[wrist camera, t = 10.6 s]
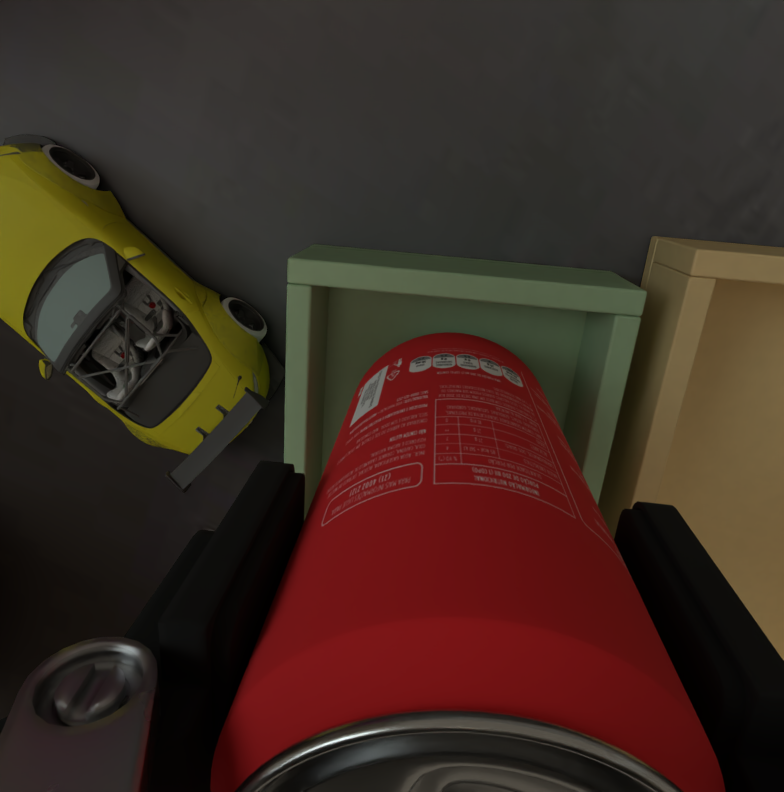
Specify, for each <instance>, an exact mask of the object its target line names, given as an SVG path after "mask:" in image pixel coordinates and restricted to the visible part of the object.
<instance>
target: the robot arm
mask: <svg viewBox="0 0 784 792" xmlns="http://www.w3.org/2000/svg"><path fill="white" fill-rule="evenodd" d="M304 505H305V475H304V473H295V468H294V465H293V464H289V463H280V462H271V461H260V462H259V464H258V465H257V467H256V468H255V470H254V471H253V473H252V475H251V476H250V478H249V479H248V481H247V482H246V484H245V486H244V487H243V489H242V490H241V492H240V493H239V495H238V497H237V498H236V500H235V501H234V503H233V505H232V506H231V508H230V509H229V511H228V512H227V514H226V516H225V517H224V519H223V520H222V522H221V523H220V525H219V527H218V528H217V530H216V531H208V530H200V531H198V532H197V533H196V534H195V535H194V536H193V537H192V539H191V540H190V542H189V543H188V545H187V546H186V548H185V549H184V551H183V552H182V553H181V555H180V556H179V558H178V559H177V561H176V562H175V564H174V565H173V567H172V568H171V569H170V571H169V572H168V574H167V575H166V577H165V578H164V580H163V581H162V583H161V584H160V585H159V587H158V588H157V590H156V591H155V593H154V594H153V596H152V597H151V599H150V600H149V601H148V603H147V604H146V606H145V607H144V609H143V610H142V612H141V613H140V615H139V616H138V617H137V619H136V620H135V622H134V623H133V625H132V626H131V628H130V629H129V631H128V632H127V633H126V635H125V636H124V637H100V638H95V639H90V640H85V641H81V642H79V643H76V644H74V645H71V646H69V647H66V648H64V649H62V650H60V651H58V652H57V653H55V654H54V655H52V656H50V657H49V658H47V659H46V660H44V661H43V662H42V663H41V664H40V665H39V666H38V667H37V668H36V669H35V670H33V671H32V672H31V673H30V674H29V675H28V677H27V679H26V680H25V682H24V683H23V685H22V687H21V688H20V690H19V692H18V694H17V696H16V699H15V701H14V704H13V706H12V708H11V711H10V713H9V715H8V717H6V718H3V719H1V720H0V792H211V791H210V781H211V768H212V763H213V757H214V752H215V749H216V746H217V742H218V739H219V736H220V733H221V731H222V728H223V726H224V723H225V721H226V718H227V716H228V713H229V710H230V708H231V705H232V703H233V700H234V698H235V695H236V693H237V690H238V688H239V685H240V683H241V680H242V678H243V675H244V672H245V670H246V667H247V665H248V662H249V660H250V657H251V655H252V652H253V650H254V647H255V645H256V642H257V639H258V637H259V634H260V632H261V629H262V627H263V624H264V622H265V619H266V617H267V614H268V612H269V609H270V607H271V604H272V601H273V599H274V596H275V594H276V591H277V589H278V586H279V584H280V581H281V579H282V576H283V574H284V571H285V569H286V566H287V563H288V561H289V558H290V556H291V553H292V551H293V548H294V546H295V543H296V541H297V538H298V536H299V533H300V530H301V528H302V525H303V523H304ZM614 541H615V544H616V546H617V548H618V550H619V552H620V554H621V556H622V558H623V560H624V562H625V565H626V567H627V569H628V571H629V573H630V575H631V577H632V579H633V581H634V584H635V586H636V588H637V590H638V592H639V594H640V596H641V598H642V600H643V602H644V605H645V607H646V609H647V611H648V613H649V615H650V617H651V619H652V621H653V623H654V626H655V628H656V630H657V632H658V634H659V636H660V638H661V640H662V642H663V645H664V647H665V649H666V651H667V653H668V655H669V657H670V659H671V661H672V663H673V666H674V668H675V670H676V672H677V674H678V676H679V678H680V680H681V682H682V685H683V687H684V689H685V691H686V693H687V695H688V697H689V699H690V701H691V703H692V706H693V708H694V710H695V712H696V714H697V716H698V718H699V720H700V722H701V725H702V727H703V729H704V731H705V733H706V735H707V737H708V739H709V742H710V744H711V746H712V748H713V751H714V753H715V755H716V757H717V760H718V763H719V767H720V770H721V773H722V776H723V781H724V786H725V791H726V792H784V660H783V659H782V658H781V656H780V655H779V653H778V652H777V651H776V649H775V648H774V646H773V645H772V643H771V642H770V641H769V639H768V638H767V636H766V635H765V633H764V632H763V631H762V629H761V628H760V626H759V625H758V624H757V622H756V621H755V619H754V618H753V616H752V615H751V614H750V612H749V611H748V609H747V608H746V607H745V605H744V604H743V602H742V601H741V599H740V598H739V597H738V595H737V594H736V592H735V591H734V590H733V588H732V587H731V585H730V584H729V582H728V581H727V580H726V578H725V577H724V575H723V574H722V573H721V571H720V570H719V568H718V567H717V565H716V564H715V563H714V561H713V560H712V558H711V557H710V556H709V554H708V553H707V551H706V550H705V548H704V547H703V546H702V544H701V543H700V541H699V540H698V538H697V537H696V536H695V534H694V533H693V531H692V530H691V529H690V527H689V526H688V524H687V523H686V521H685V520H684V519H683V517H682V516H681V514H680V513H679V512H678V510H677V509H676V508H675V507H674V506H673V505H667V504H658V503H649V502H639V501H637V502H636V503H635V504H634V505H633V507H632V509H623V510H622V512H621V514H620V517H619V521H618V525H617V529H616V533H615V537H614Z"/></svg>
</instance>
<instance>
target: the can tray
mask: <svg viewBox="0 0 784 792" xmlns="http://www.w3.org/2000/svg"><path fill="white" fill-rule="evenodd" d="M287 281H288V283H289V284H288V285H287V309H286V366H285V424H284V463H289V464H293V465H294V468H295V473H304V475H305V505H304V520H305V518H306V515H307V513H308V510H309V508H310V505H311V503H312V500H313V498H314V495H315V492H316V490H317V487H318V485H319V482H320V480H321V477H322V475H323V472H324V470H325V467H326V465H327V462H328V460H329V457H330V454H331V452H332V449H333V447H334V444H335V442H336V439H337V437H338V434H339V432H340V429H341V427H342V424H343V421H344V419H345V416H346V414H347V411H348V409H349V406H350V404H351V401H352V399H353V396H354V394H355V391H356V389H357V387H358V385H359V383H360V381H361V380H362V378H363V377H364V375H365V374H366V372H367V371H368V370H369V369H370V367H371V366H372V365H373V364H374V363H375V362H376V361H377V360H378V359H379V358H380V357H382V356H383V355H384V354H385V353H387V352H388V351H390V350H391V349H393V348H394V347H396V346H398V345H400V344H402V343H404V342H406V341H408V340H411V339H413V338H417V337H420V336H424V335H428V334H434V333H446V332H451V333H464V334H470V335H475V336H479V337H482V338H485V339H488V340H490V341H493V342H495V343H497V344H499V345H501V346H503V347H504V348H506V349H507V350H509V351H510V352H512V353H513V354H514V355H516V356H517V357H518V358H519V359H520V360H521V361H522V362H523V363H524V364H525V365H526V366H527V367H528V368H529V369H530V370H531V372H532V373H533V374H534V376H535V377H536V379H537V381H538V382H539V384H540V386H541V388H542V390H543V392H544V394H545V396H546V398H547V400H548V403H549V405H550V407H551V409H552V411H553V413H554V415H555V417H556V419H557V421H558V424H559V426H560V428H561V430H562V432H563V434H564V436H565V438H566V440H567V443H568V445H569V447H570V449H571V451H572V453H573V455H574V457H575V459H576V461H577V464H578V466H579V468H580V470H581V472H582V474H583V476H584V478H585V480H586V483H587V485H588V487H589V489H590V491H591V493H592V495H593V497H594V499H595V501H596V504H597V506H598V502H599V498H600V493H601V489H602V485H603V480H604V476H605V472H606V468H607V463H608V459H609V455H610V450H611V446H612V442H613V438H614V433H615V429H616V425H617V420H618V416H619V412H620V407H621V403H622V399H623V395H624V390H625V386H626V382H627V377H628V373H629V369H630V365H631V360H632V356H633V352H634V347H635V343H636V339H637V334H638V330H639V326H640V322H641V318H640V317H639V316H641V315H642V313H643V309H644V304H645V300H646V296H647V291H645V290H643V289H641V288H640V287H638V286H636V285H634V284H632V283H631V282H629V281H627V280H625V279H624V278H622V277H620V276H618V275H616V274H615V273H613V272H611V271H604V270H593V269H582V268H571V267H560V266H549V265H538V264H527V263H516V262H506V261H495V260H484V259H473V258H462V257H451V256H440V255H429V254H418V253H407V252H396V251H385V250H374V249H363V248H352V247H341V246H331V245H320V244H313V245H311V246H310V247H308V248H306V249H304V250H303V251H301V252H299V253H297V254H295V255H293V256H291V257H290V258H288V260H287Z"/></svg>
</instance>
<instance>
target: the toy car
mask: <svg viewBox="0 0 784 792" xmlns="http://www.w3.org/2000/svg"><path fill="white" fill-rule="evenodd" d="M55 144H56V143H54V142H53V141H52V140H50V139H48V138H46V137H42V136H36V135H17V136H13V137H9V138H6V139H5V141H4V145H3V146H0V318H1V319H2V320H3V321H5V322H6V323H7V324H8V325H9V326H10V327H12V328H13V329H14V330H15V331H16V332H17V333H19V334H20V335H21V336H22V337H23V338H24V339H25V340H27V341H28V342H29V343H30V344H32V345H33V346H34V347H35V348H36V349H38V350H39V351H40V352H41V353H42V354H43V355H45V358H44V359H42V360H40V361H39V368H40V372H41V374H42V376H43V377H44V378H45V379H46V380H49V379H50V378H51V377H52V374H53V366H54V367H55V368H56V369H57V370H58V371H59V372H61V373H62V374H64V375H65V373H66V374H67V375H69V376H70V377H71V378H72V379H73V380H75V381H76V382H77V383H78V384H79V385H80V386H82V387H83V388H84V389H85V390H86V391H88V392H89V394H90V395H91V396H92V397H93V398H94V397H95V398H96V399H97V400H96V399H95V398H94V399H95V400H96V401H97V402H98V403H100V404H101V405H103V406H105V407H107V408H108V409H109V410H110V411H111V412H113V413H114V414H115V415H116V416H117V417H119V418H120V419H121V420H122V421H123V423H124V424H125V425H126V427H127V428H128V429H129V430H130V431H131V433H132V434H133V435H134V436H136V437H137V438H138V439H140V440H141V441H143V442H145V443H146V444H149V445H152V446H156V447H161V448H167V449H172V450H175V451H179V452H182V453H185V454H189V456H188V457H187V458H186V459H185V460H184V461H183V462H182V463H181V464H180V465H179V466H178V467H177V468H176V469H175V470H174V471H173V472H172V473H170V472H169V471H167V473H166V477H167V478H168V479H170V480H171V481H172V482H173V483H174V484H175V485H176V486H177V487H178V488H179V489H180V490H181V491H182V492H183V493H185V492H186V491H187V490H188V488H189V487H190V486H191V482H192V481H193V480H194V479H195V478H196V477H197V476H198V475H199V474H200V473H201V472H202V471H203V470H204V469H205V468H206V467H207V466H208V465H209V464H210V463H211V462H212V461H213V460H214V459H215V458H216V456H217V455H218V454H219V453H220V452H221V451H222V450H223V449H224V448H225V447H226V446H227V445H228V444H229V443H230V442H232V441H233V440H234V439H235V438H236V437H237V436H238V435H239V434H240V433H241V432H242V431H243V430H244V429H245V428H247V427H248V426H249V424H251V423H252V422H253V418H254V417H255V416H256V414H257V413H258V411H259V410H260V409H261V408H263V409H265V408H266V407H267V406H268V404H269V403H270V402H269V401H268V400H269V399H270V398H271V396H272V395H273V394H274V393H275V392H276V390H277V388H278V387H279V385H280V383H281V381H282V379H283V377H284V375H285V368H284V367H283V366H282V364H281V363H280V362H279V360H278V359H277V358H276V357H275V355H274V354H273V353H272V352H271V350H270V349H269V348H268V347H267V346H266V344H265V343H263V344H262V345H260V344H259V342H260V341H261V340H262V339H263V337H264V336H265V335H266V332H267V326H266V323H265V321H264V319H263V318H262V317H261V315H260V314H259V313H258V312H257V311H256V310H255V309H254V308H253V307H252V306H250V305H249V304H247V303H246V302H244V301H242V300H240V299H237V298H233V297H229V298H226V299H224V300H223V301H222V302H221V303H220V300H219V298H220V297H221V296H222V295H220V294H218V293H216V292H214V291H212V290H211V289H209V288H207V287H205V286H203V285H201V284H199V283H197V282H196V281H195V280H194V279H193V278H191V277H190V276H189V275H188V274H187V273H186V272H185V271H184V270H183V269H182V268H181V267H179V266H178V265H177V264H176V263H175V262H174V261H173V260H172V259H171V258H170V257H169V256H167V255H166V254H165V253H164V252H163V251H162V250H161V249H160V248H159V247H158V246H157V245H155V244H154V243H153V242H152V241H151V240H150V239H149V238H148V237H147V236H146V235H145V234H143V233H142V232H141V231H140V230H139V229H138V228H137V227H136V226H135V225H134V224H133V223H131V222H130V221H129V220H128V219H127V218H126V217H125V215H124V213H123V211H122V209H121V207H120V205H119V204H118V202H117V200H116V199H115V197H114V196H113V194H112V193H111V191H99V190H96V189H97V187H98V185H99V182H100V178H99V175H98V173H97V172H96V170H95V169H94V168H93V167H92V166H91V165H90V164H89V163H88V162H87V161H86V160H84V159H83V158H82V157H80V156H79V155H77V154H76V153H74V152H72V151H70V150H68V149H66V148H63V147H61V146H57V145H55ZM99 401H100V402H99Z"/></svg>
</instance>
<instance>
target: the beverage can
mask: <svg viewBox="0 0 784 792" xmlns="http://www.w3.org/2000/svg"><path fill="white" fill-rule="evenodd" d="M210 791H211V792H726V791H725V786H724V781H723V776H722V773H721V770H720V767H719V763H718V760H717V757H716V755H715V753H714V751H713V748H712V746H711V744H710V742H709V739H708V737H707V735H706V733H705V731H704V729H703V727H702V725H701V722H700V720H699V718H698V716H697V714H696V712H695V710H694V708H693V706H692V703H691V701H690V699H689V697H688V695H687V693H686V691H685V689H684V687H683V685H682V682H681V680H680V678H679V676H678V674H677V672H676V670H675V668H674V666H673V663H672V661H671V659H670V657H669V655H668V653H667V651H666V649H665V647H664V645H663V642H662V640H661V638H660V636H659V634H658V632H657V630H656V628H655V626H654V623H653V621H652V619H651V617H650V615H649V613H648V611H647V609H646V607H645V605H644V602H643V600H642V598H641V596H640V594H639V592H638V590H637V588H636V586H635V584H634V581H633V579H632V577H631V575H630V573H629V571H628V569H627V567H626V565H625V562H624V560H623V558H622V556H621V554H620V552H619V550H618V548H617V546H616V544H615V541H614V539H613V537H612V535H611V533H610V531H609V529H608V527H607V525H606V522H605V520H604V518H603V516H602V514H601V512H600V510H599V508H598V506H597V504H596V501H595V499H594V497H593V495H592V493H591V491H590V489H589V487H588V485H587V483H586V480H585V478H584V476H583V474H582V472H581V470H580V468H579V466H578V464H577V461H576V459H575V457H574V455H573V453H572V451H571V449H570V447H569V445H568V443H567V440H566V438H565V436H564V434H563V432H562V430H561V428H560V426H559V424H558V421H557V419H556V417H555V415H554V413H553V411H552V409H551V407H550V405H549V403H548V400H547V398H546V396H545V394H544V392H543V390H542V388H541V386H540V384H539V382H538V381H537V379H536V377H535V376H534V374H533V373H532V372H531V370H530V369H529V368H528V367H527V366H526V365H525V364H524V363H523V362H522V361H521V360H520V359H519V358H518V357H517V356H516V355H514V354H513V353H512V352H510V351H509V350H507V349H506V348H504V347H503V346H501V345H499V344H497V343H495V342H493V341H490V340H488V339H485V338H482V337H479V336H475V335H470V334H464V333H451V332H446V333H434V334H428V335H424V336H420V337H417V338H413V339H411V340H408V341H406V342H404V343H402V344H400V345H398V346H396V347H394V348H393V349H391V350H390V351H388V352H387V353H385V354H384V355H383V356H382V357H380V358H379V359H378V360H377V361H376V362H375V363H374V364H373V365H372V366H371V367H370V369H369V370H368V371H367V372H366V374H365V375H364V377H363V378H362V380H361V381H360V383H359V385H358V387H357V389H356V391H355V394H354V396H353V399H352V401H351V404H350V406H349V409H348V411H347V414H346V416H345V419H344V421H343V424H342V427H341V429H340V432H339V434H338V437H337V439H336V442H335V444H334V447H333V449H332V452H331V454H330V457H329V460H328V462H327V465H326V467H325V470H324V472H323V475H322V477H321V480H320V482H319V485H318V487H317V490H316V492H315V495H314V498H313V500H312V503H311V505H310V508H309V510H308V513H307V515H306V518H305V520H304V523H303V525H302V528H301V530H300V533H299V536H298V538H297V541H296V543H295V546H294V548H293V551H292V553H291V556H290V558H289V561H288V563H287V566H286V569H285V571H284V574H283V576H282V579H281V581H280V584H279V586H278V589H277V591H276V594H275V596H274V599H273V601H272V604H271V607H270V609H269V612H268V614H267V617H266V619H265V622H264V624H263V627H262V629H261V632H260V634H259V637H258V639H257V642H256V645H255V647H254V650H253V652H252V655H251V657H250V660H249V662H248V665H247V667H246V670H245V672H244V675H243V678H242V680H241V683H240V685H239V688H238V690H237V693H236V695H235V698H234V700H233V703H232V705H231V708H230V710H229V713H228V716H227V718H226V721H225V723H224V726H223V728H222V731H221V733H220V736H219V739H218V742H217V746H216V749H215V752H214V757H213V763H212V768H211V781H210Z"/></svg>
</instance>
